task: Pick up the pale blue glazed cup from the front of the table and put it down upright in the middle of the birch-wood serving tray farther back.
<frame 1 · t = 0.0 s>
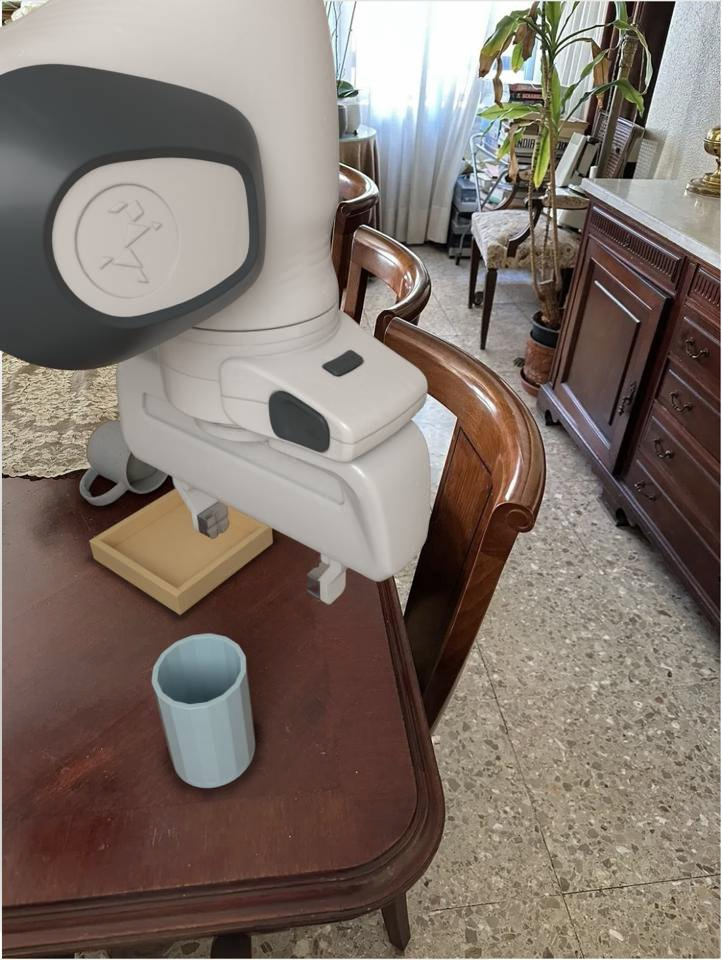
hand: (266, 560, 41), 21 cm above the table, tool pointing down, fingers open, 8 cm apart
tray: (185, 550, 73), on the table
ceramic mug: (127, 486, 82), on the table
candle: (288, 336, 122), on the table
white cup: (208, 462, 87), on the table
sauce bottle: (292, 483, 84), on the table
apple: (280, 390, 104), on the table
cup: (214, 749, 53), on the table
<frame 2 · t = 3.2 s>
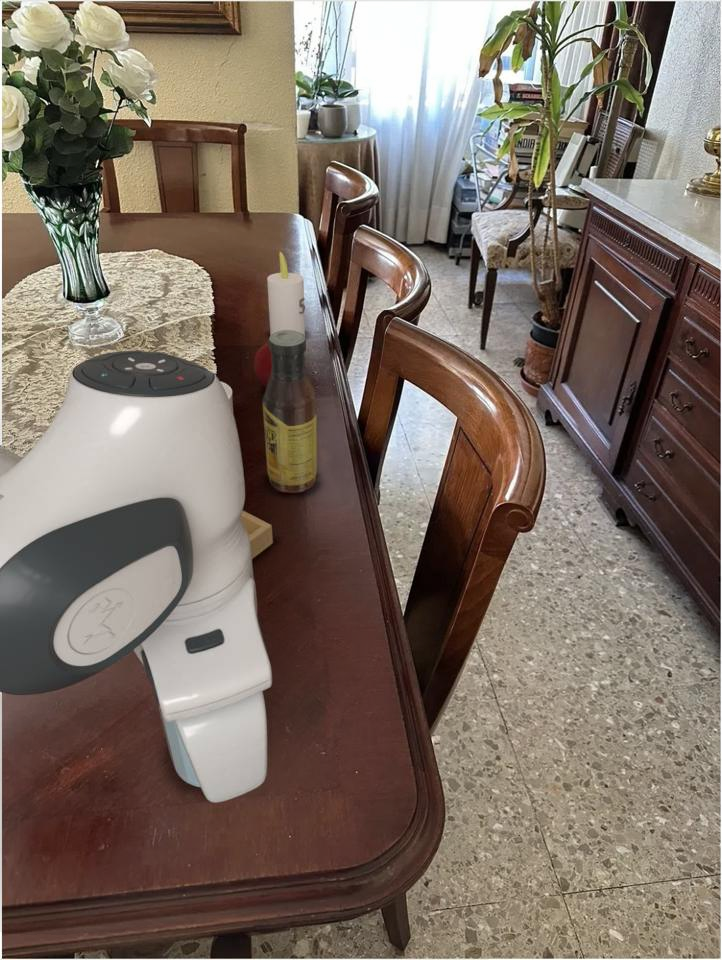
hand: (209, 717, 51), 4 cm above the table, tool pointing down, fingers closed on cup, 7 cm apart
cup: (214, 749, 53), on the table, touching gripper
everything else where it was.
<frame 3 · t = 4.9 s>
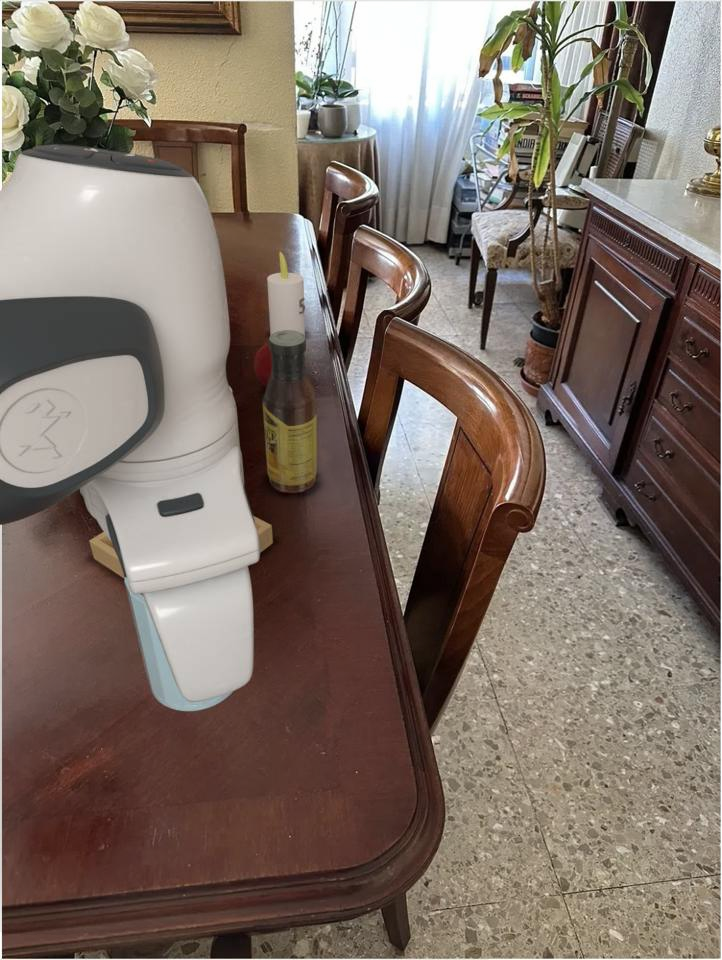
hand: (190, 632, 45), 14 cm above the table, tool pointing down, fingers closed on cup, 7 cm apart
cup: (196, 672, 48), point 10 cm above the table, touching gripper
everything else where it was.
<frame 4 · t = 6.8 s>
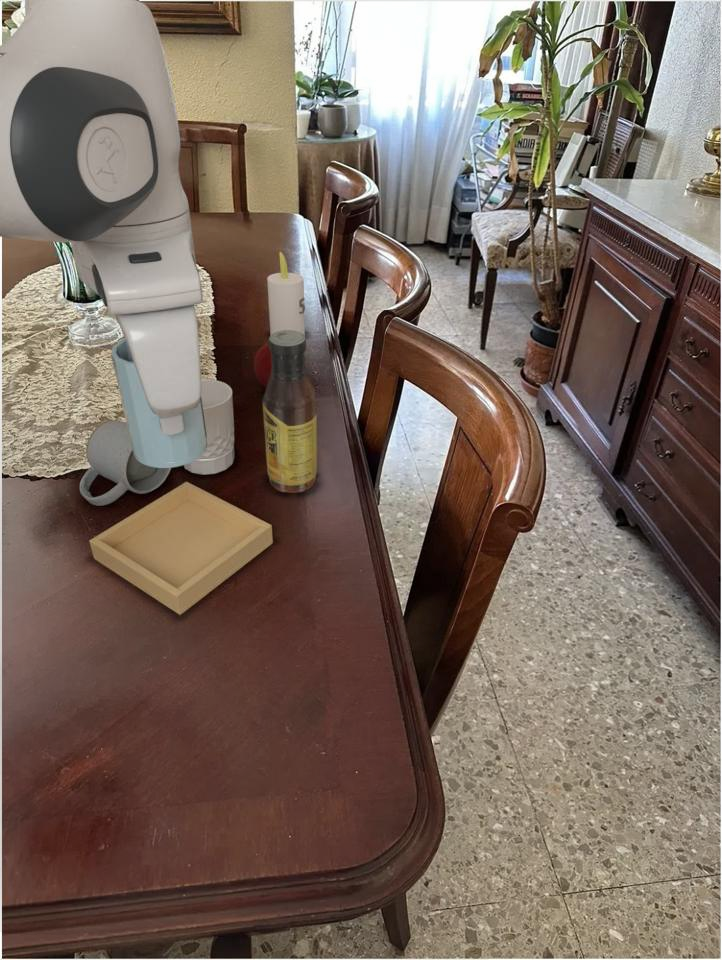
hand: (163, 408, 58), 20 cm above the table, tool pointing down, fingers closed on cup, 7 cm apart
cup: (170, 447, 61), point 16 cm above the table, touching gripper
everything else where it was.
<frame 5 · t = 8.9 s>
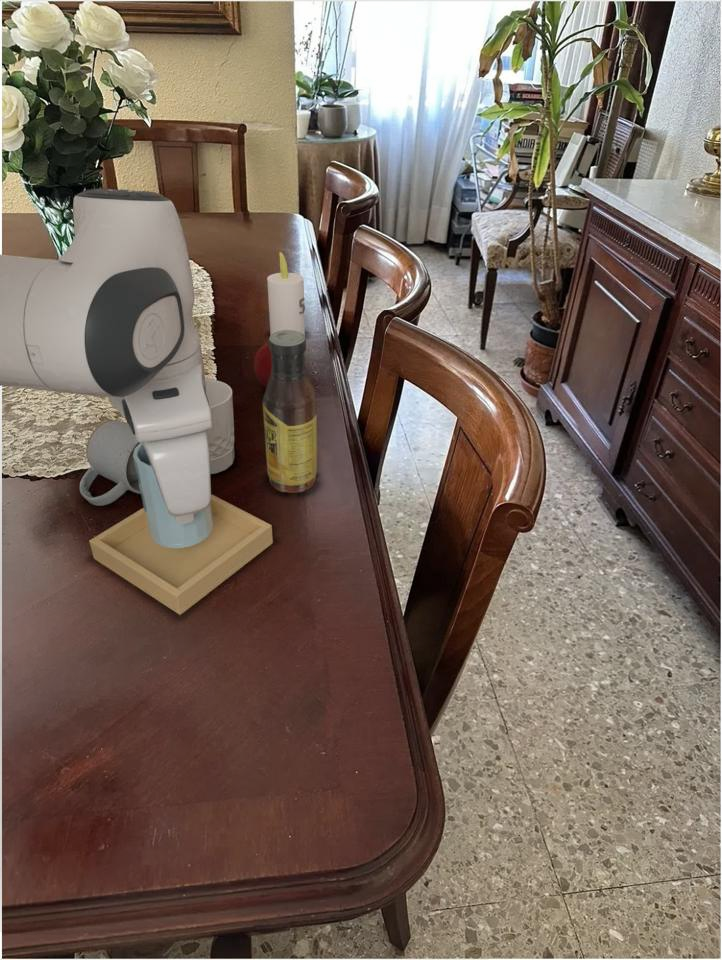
hand: (176, 497, 68), 7 cm above the table, tool pointing down, fingers closed on cup, 7 cm apart
cup: (181, 528, 71), point 3 cm above the table, touching gripper
everything else where it was.
when the fingers open (5 cm above the table, at t = 10.4 s): cup stays where it is, resting on tray.
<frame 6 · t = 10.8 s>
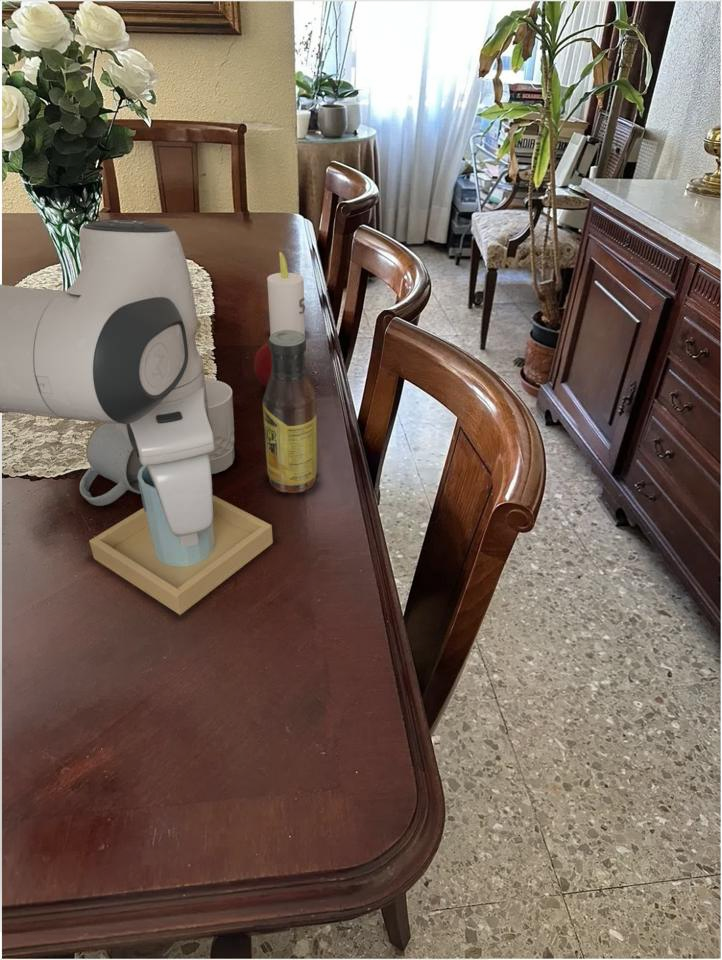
hand: (178, 515, 70), 5 cm above the table, tool pointing down, fingers open, 8 cm apart
cup: (184, 546, 72), point 1 cm above the table, touching tray
everything else where it was.
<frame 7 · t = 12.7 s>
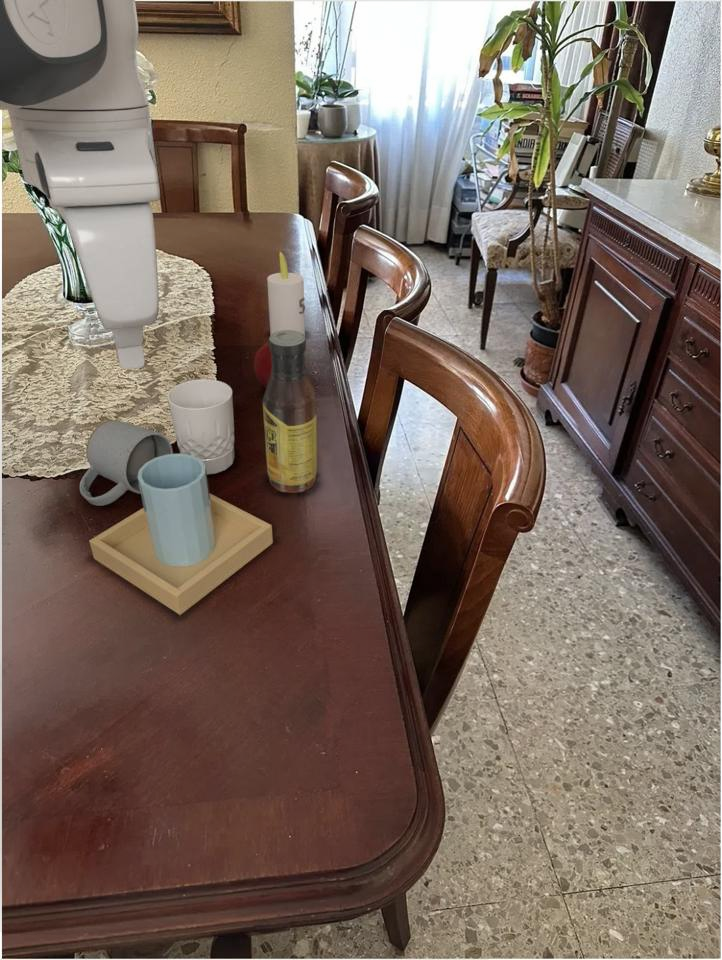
hand: (122, 342, 53), 27 cm above the table, tool pointing down, fingers open, 8 cm apart
nothing on the table moved.
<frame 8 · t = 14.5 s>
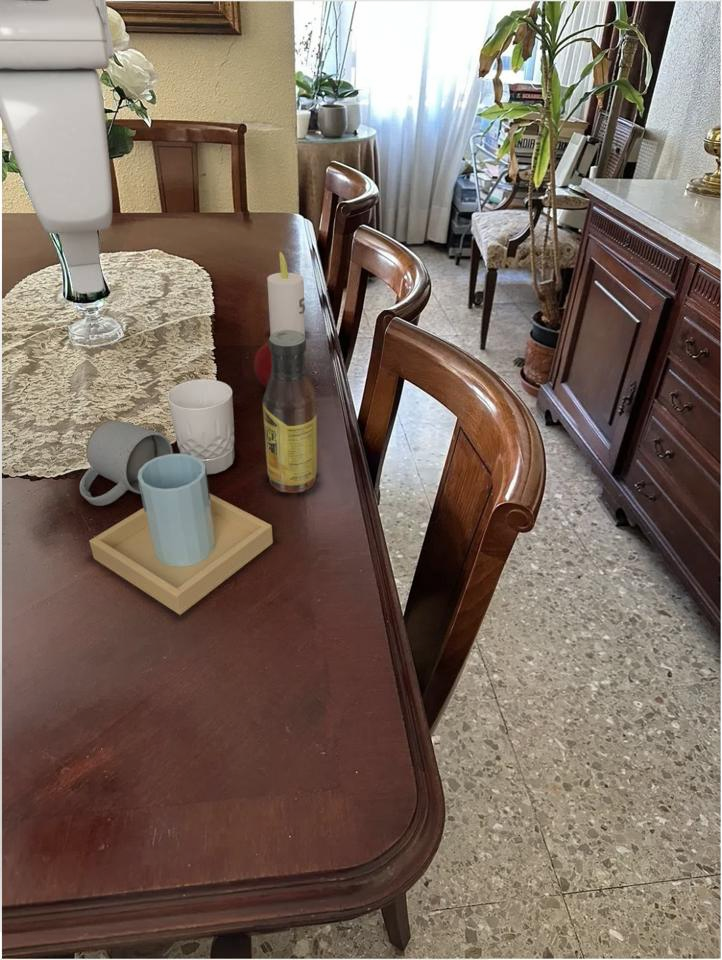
hand: (81, 267, 45), 34 cm above the table, tool pointing down, fingers open, 8 cm apart
nothing on the table moved.
at the end: cup inside the target area in the tray (0.1 cm from its centre), point 0.6 cm above the tray's base; cup tilted 0°; the gripper is holding nothing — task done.
